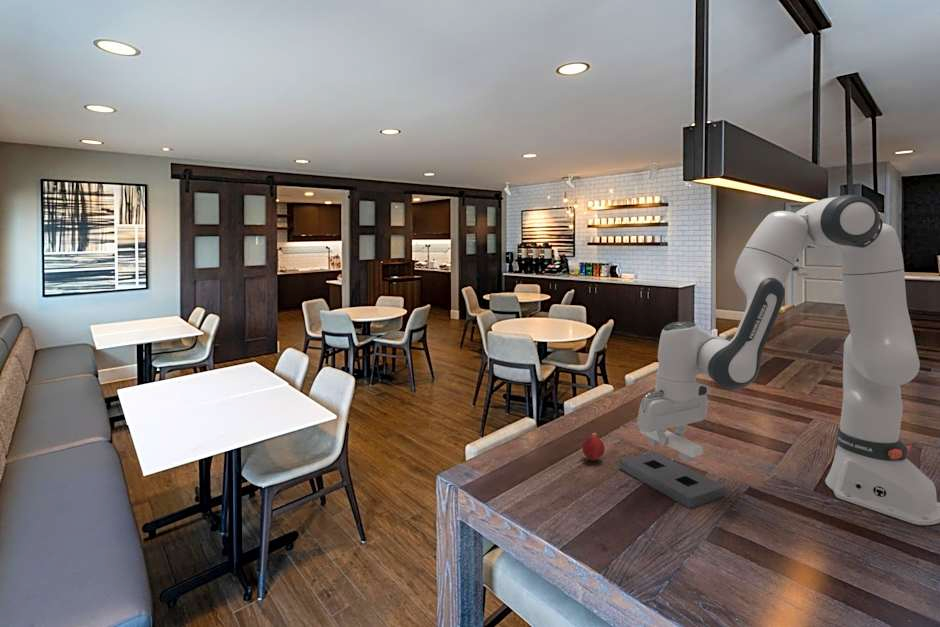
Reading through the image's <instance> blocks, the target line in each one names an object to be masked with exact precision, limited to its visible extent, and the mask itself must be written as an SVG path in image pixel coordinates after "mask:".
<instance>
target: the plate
mask: <svg viewBox="0 0 940 627" xmlns="http://www.w3.org/2000/svg"><path fill="white" fill-rule="evenodd" d="M653 468H654V469H653ZM620 469H622V470H623V471H622V470H621V471H622V472H624V471H625V472H624V473H626V472H627V473H628V474H627V473H626V474H627V475H629V474H630V475H629V476H631V475H632V476H631V477H633V476H634V477H635V478H634V477H633V478H634V479H636V478H637V479H636V480H638V479H639V480H638V481H640V482H642V483H643V484H645V485H647V486H648V487H650V488H652V489H654V490H655V491H657V492H659V493H661V494H663V495H664V494H665V496H666V497H668V498H670V499H671V500H673V501H675V502H677V501H678V502H677V503H679V504H680V503H681V505H682V506H684V507H686V508H688V509H693V508H696V507H699V506H701V505H702V506H703V505H705V504H707V503H710V502H713V501H716V500H719V499H722V498H725V497H726V491H727V490H726V489H727V486H726V485H724V484H722V483H719V482H718V481H716V480H714V479H711V478H709V477H707V476H705V475H704V474H701V473H700V472H696V471H695V470H692V469H691V468H688V467H686V466H685V465H682V464H681V463H679V462H676V461H674V460H672V459H671V458H668V457H665V456H664V455H661V454H659V453H657V452H655V451H649V452H646V453H641V454H638V455H634V456H630V457H627V458H622V459H620V460H619V470H620Z"/></svg>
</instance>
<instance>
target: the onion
mask: <svg viewBox="0 0 940 627" xmlns="http://www.w3.org/2000/svg"><path fill="white" fill-rule="evenodd" d="M581 446H582V449H581V450H582V453H583V455H584V456H585V457H586V458H587V459H589V460H590V461H592V462H595V461H597V460H599V459H600V458H601V457H602V456H603V455H604V453H605V451H606V450H605V449H606V448H605V445H604V442H603V441H602V439H601V438H600V437H598V435H597V433H596V432H593V433H592V434H591V435H589V436H587V438H585V439H584V441H583V443H582V445H581Z"/></svg>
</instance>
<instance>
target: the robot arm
mask: <svg viewBox="0 0 940 627" xmlns="http://www.w3.org/2000/svg"><path fill="white" fill-rule="evenodd" d="M806 248H823V249H824V248H826V249H827V248H835V249H836V250H837V251H838V253H839V255H840V259H841V272H842V275H841V276H842V284H843V285H842V287H843V299H844V309H845V311H846V316H847V317H846V318H847V321H848V326H849V334H848V335H847V336H846V338H845V341H844V342H843V356H842V358H843V359H842V360H843V363H842V391H843V392H842V394H843V396H842V403H841V404H842V405H841V406H842V407H841V413H840V414H841V415H840V424H839V427H837V429H836V430H837V431H836V436H835V446H834V448H835V449H836V450H835V453H834V458H833V462H832V465H831V467H830V469H829V471H828V474H827V476H826V477H825V480H824V482H825V484H826V485H827V487H828V488H829V489H830V490H832V491H833V492H834V496H835V497H836V498H837V499H840V500H843V501H846V502H849V503H852V504H854V505H857V506H860V507H863V508H866V509H869V510H872V511H875V512H878V513H879V514H880V513H881V514H883V515H887V516H890V517H892V518H896V519H898V520H901V521H904V522H907V523H909V524H912V525H913V524H914V525H918V526H930V525H936V524H940V501H937V500H938V498H937V490H936V485H935V483H934V482H933V481H932V480H931V478H930V477H928V476H926V474H925V473H924V472H922V471H921V470H920V468H918V467H917V466H916V465H915V464H914V463H913V462H911V460H909V459H908V452H909V451H911V449H912V448H911V447H912V445H907V446H906V445H905V444H904V443H903V442H902V441H901V439H900V434H901V433H900V432H901V425H902V419H903V411H904V410H903V409H904V407H903V405H904V404H903V401H902V391H901V385H902V386H903V385H905V384H908V383H909V382H911V381H912V380H913V379H915V377H916V376H918V373H919V370H920V367H921V366H920V365H921V364H920V358H919V355H918V350H917V346H916V340H915V334H914V331H913V325H912V321H911V317H910V314H909V309H908V303H907V294H906V293H907V290H906V281H905V280H906V278H905V264H904V257H903V252H902V246H901V243H900V240H899V236H898V234H897V231H896V229H895V228H894V227H893V226H892V225H889V224H888V223H884V221H883V219H882V218H881V215H880V212H879V209H878V208H877V205H875V203H873V202H872V201H871V199H869V198H867V197H865V196H860V195H856V194H844V195H840V196H832V197H827V198H823V199H819V200H818V201H815V202H810V203H807V204H805V205H802V206H800V207H799V208H798V209H796V210H794V211H793V212H792V211H788V210H777V211H773V212H770V213H769V214H767V215H766V217H764V219H763V220H762V221H761V223H760V224H759V225H758V226H757V227H756V229H755V230H754V232H753V233H752V235H751V236H750V237H749V239H748V241H747V242H746V244H745V246H744V248H743V250H742V251H741V253H740V255H739V257H738V259H737V261H736V264H735V268H734V272H733V274H734V278H735V281H736V283H737V284H738V286H739V287H740V289H741V290H742V291H743V293H744V294H745V297H746V307H745V309H744V310H745V311H743V312H744V313H743V315H742V317H741V318H740V322H739V324H738V327H737V329H736V331H735V333H734V335H733V337H732V339H731V340H728V339H726V338H723V337H722V336H718V335H715V334H713V333H711V332H709V331H706V330H704V329H702V328H701V326H699V325H697V324H696V322H691V321H674V322H671V323H668V324H666V325H665V326H663V329H662V330H661V333H660V336H659V343H658V350H657V360H658V368H657V370H656V373H655V387H654V391H653V392H648V393H646V395H645V396H644V397H642V399H641V403H640V404H639V408H638V409H639V410H638V413H637V414H638V415H637V421H636V425H637V427H638V428H639V429H640V430H641V429H642V430H644V431H646V432H654V431H656V432H657V435H658V436H659V439H658V442H659V444H660V445H661V446H667V444H668V439H669V438H667V437H666V436H665V432H666V430H667V431H668V429H672V428H676V430H675V432H672V433H673V434H676V435H678V436H680V437H682V438H684V436H683V435H684V434H685V432H686V430H687V429H688V425H690V424H694V423H698V422H702V421H704V420H705V418H706V416H707V414H708V413H707V412H708V405H709V404H708V402H709V401H708V400H709V399H708V396H707V395H708V394H709V393H710V386H708V385H705V384H702V383H700V382H697V381H696V379H697V378H696V377H697V375H703V374H704V375H705V376H706V377H707V378H710V379H711V380H712V381H714V382H715V384H717V385H718V386H719V387H721V388H723V389H725V390H728V391H738V390H742V389H745V388H747V387H748V386H750V385H751V384H752V383H753V382H754V381H755V380H756V379H757V377H758V375H759V372H760V369H761V363H762V362H761V361H762V355H763V352H764V348H765V346H766V343H767V341H768V339H769V337H770V334H771V332H772V329H773V327H774V325H775V322H776V320H777V318H778V315H779V313H780V310H781V307H782V305H783V302H784V298H785V288H786V287H785V286H786V284H787V281H788V278H789V276H790V273H791V272H792V270H793V269H794V266H795V264H796V263H797V260H798V259H799V257H800V255H801V253H802V252H804V250H805V249H806Z"/></svg>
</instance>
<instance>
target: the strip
mask: <svg viewBox="0 0 940 627" xmlns="http://www.w3.org/2000/svg"><path fill="white" fill-rule="evenodd" d="M639 433H640V434H642V435H643V436H645V437H646V443H647V444H649V445H651V446H653V447H654V446H659V445H661V444H659V442H658V439H659V436H658V435H657V432H656V431H654V432H646V431H644V430H642V429H640V432H639ZM673 433H674V432H671V431H669V430H668V429H667V430H666V432H665V436H666V437H667V438H669V439H668V444H667V445H666V446H667V447H669V448H671V449H673V450H676V451H678V457H677V458H678V459H679V460H682V461H684V462H685V463H688V462H693V461H694V460H695V458H696V457H699V456H703V453H704V446H703V445H700V444H697V443H695V442H693V441H691V440H689V439H686V438H684V437H683V438H682V437H680V436H678V435H676V434H673Z"/></svg>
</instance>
